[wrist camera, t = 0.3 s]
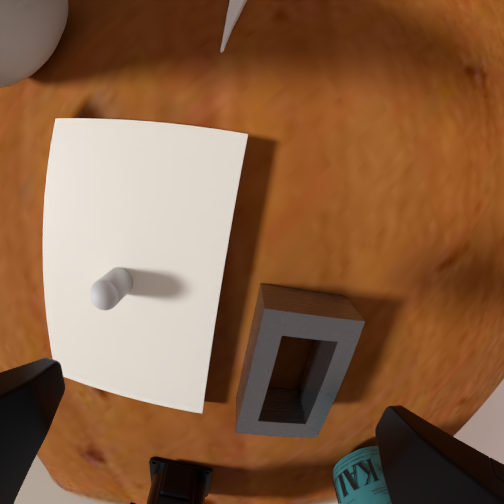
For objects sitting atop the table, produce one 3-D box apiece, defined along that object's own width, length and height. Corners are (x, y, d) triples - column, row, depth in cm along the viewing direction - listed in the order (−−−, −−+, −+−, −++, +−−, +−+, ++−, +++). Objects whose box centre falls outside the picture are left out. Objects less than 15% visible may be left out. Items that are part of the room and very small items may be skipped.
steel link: (307, 403, 23) (316, 437, 19) (236, 397, 22) (235, 432, 18) (345, 296, 20) (365, 321, 16) (260, 283, 20) (264, 308, 16)
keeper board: (204, 401, 22) (197, 444, 18) (62, 364, 21) (36, 396, 17) (247, 137, 18) (248, 123, 13) (66, 121, 17) (25, 111, 12)
